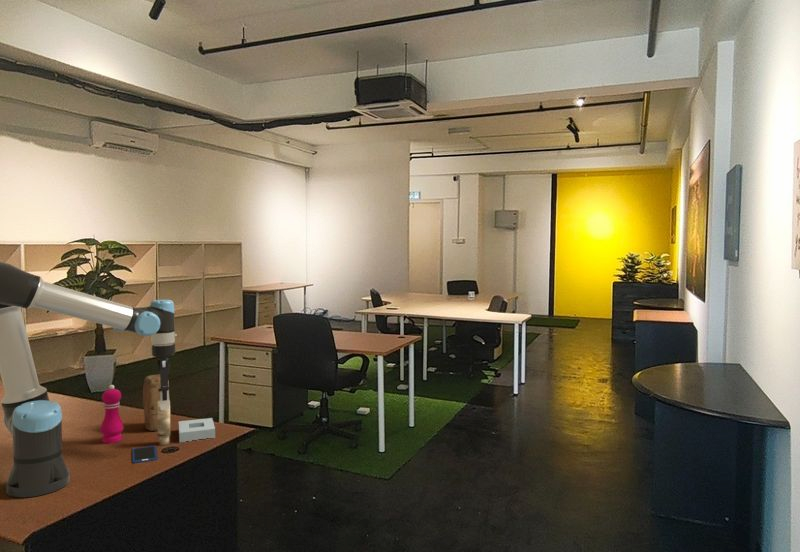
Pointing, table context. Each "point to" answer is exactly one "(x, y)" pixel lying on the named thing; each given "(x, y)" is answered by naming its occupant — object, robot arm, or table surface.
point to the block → (151, 401)
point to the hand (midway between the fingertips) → (164, 404)
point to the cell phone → (144, 454)
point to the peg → (163, 425)
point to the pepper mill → (111, 416)
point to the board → (196, 429)
